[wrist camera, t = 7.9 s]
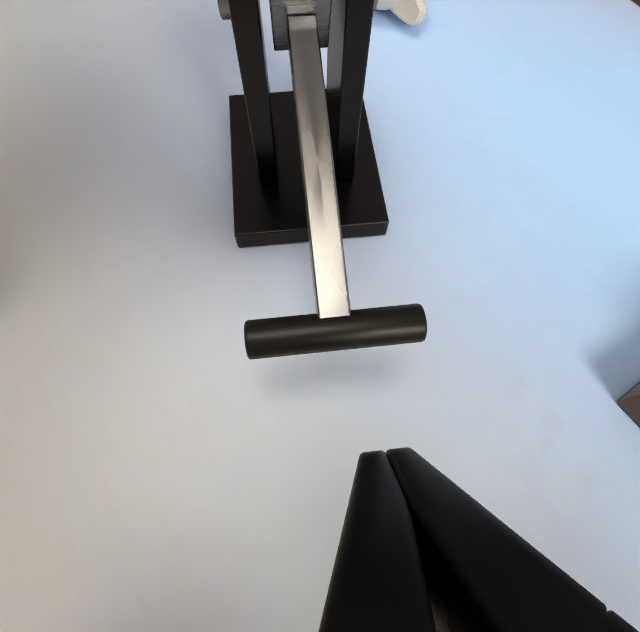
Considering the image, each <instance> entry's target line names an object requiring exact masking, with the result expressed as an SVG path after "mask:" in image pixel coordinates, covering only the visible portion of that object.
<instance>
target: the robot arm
mask: <svg viewBox="0 0 640 632" xmlns="http://www.w3.org/2000/svg"><path fill="white" fill-rule="evenodd" d="M319 632H639V631H637V630H636V629H635V628H634V627H632V626H631V625H630V624H629V623H627V622H626V621H625V620H624V619H622V618H621V617H620V616H619V615H617V614H616V613H615V612H614V611H612V610H609V611H607V609H606V606H605V604H603V603H602V602H601V601H600V600H599V599H597V598H596V597H595V596H594V595H592V594H591V593H590V592H589V591H587V590H586V589H585V588H584V587H582V586H581V585H580V584H579V583H577V582H576V581H575V580H574V579H572V578H571V577H570V576H569V575H568V574H566V573H565V572H564V571H563V570H561V569H560V568H559V567H558V566H556V565H555V564H554V563H553V562H551V561H550V560H549V559H548V558H546V557H545V556H544V555H543V554H541V553H540V552H539V551H538V550H537V549H535V548H534V547H533V546H532V545H530V544H529V543H528V542H527V541H525V540H524V539H523V538H522V537H520V536H519V535H518V534H517V533H515V532H514V531H513V530H512V529H510V528H509V527H508V526H507V525H506V524H504V523H503V522H502V521H501V520H499V519H498V518H497V517H496V516H494V515H493V514H492V513H491V512H489V511H488V510H487V509H486V508H484V507H483V506H482V505H481V504H479V503H478V502H477V501H476V500H475V499H473V498H472V497H471V496H470V495H468V494H467V493H466V492H465V491H463V490H462V489H461V488H460V487H458V486H457V485H456V484H455V483H453V482H452V481H451V480H450V479H448V478H447V477H446V476H445V475H444V474H442V473H441V472H440V471H439V470H437V469H436V468H435V467H434V466H432V465H431V464H430V463H429V462H427V461H426V460H425V459H424V458H422V457H421V456H420V455H419V454H417V453H416V452H415V451H414V450H412V449H411V448H407V447H405V448H397V449H389V450H387V451H386V453H385V452H384V451H381V450H380V451H371V452H363V453H361V454H360V456H359V460H358V464H357V469H356V473H355V477H354V482H353V486H352V490H351V495H350V499H349V503H348V508H347V512H346V516H345V520H344V525H343V529H342V533H341V538H340V542H339V546H338V551H337V555H336V559H335V564H334V568H333V572H332V576H331V581H330V585H329V589H328V594H327V598H326V602H325V607H324V611H323V615H322V620H321V624H320V628H319Z"/></svg>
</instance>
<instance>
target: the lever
mask: <svg viewBox="0 0 640 632" xmlns="http://www.w3.org/2000/svg"><path fill="white" fill-rule="evenodd" d="M269 3H270V13H271V23H272V33H273V43H274V50H275V51H278V50H289V57H290V66H291V76H292V85H293V95H294V104H295V114H296V123H297V133H298V142H299V152H300V161H301V171H302V180H303V190H304V199H305V209H306V218H307V228H308V237H309V247H310V256H311V266H312V275H313V285H314V294H315V304H316V313H317V314H307V315H297V316H287V317H277V318H267V319H256V320H247V321H246V322H245V325H244V338H245V347H246V353H247V356H248V358H249V359H260V358H270V357H280V356H289V355H299V354H309V353H318V352H328V351H338V350H347V349H357V348H367V347H376V346H386V345H395V344H405V343H415V342H422V341H424V340H425V338H426V333H427V322H426V316H425V312H424V310H423V307H422V306H421V305H420V304H408V305H398V306H388V307H378V308H368V309H358V310H350V302H349V293H348V284H347V276H346V267H345V258H344V250H343V241H342V233H341V224H340V215H339V207H338V198H337V189H336V181H335V172H334V164H333V155H332V146H331V138H330V129H329V120H328V112H327V103H326V95H325V86H324V77H323V69H322V60H321V51H320V48H324V47H328V46H329V33H330V20H331V7H332V0H269Z"/></svg>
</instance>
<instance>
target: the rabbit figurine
mask: <svg viewBox="0 0 640 632" xmlns="http://www.w3.org/2000/svg"><path fill="white" fill-rule="evenodd" d="M376 9H377V10H389V9H391V11H392V12H393V13H394V14H395V15H396V16H397V17H398V18H400V19H401V20H402V21H404V22H405V23H407V24H409V25H411V26H416V25H419V24H421V23H422V22H423V21H424V19H425V17H426V15H427V6H426V3H425V1H424V0H378V4H377V7H376Z"/></svg>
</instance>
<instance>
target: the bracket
mask: <svg viewBox="0 0 640 632" xmlns="http://www.w3.org/2000/svg"><path fill="white" fill-rule="evenodd" d="M217 1H218V7H219V12H220V16H221V18H222V19H223V20H227V19H231V21H232V27H233V33H234V38H235V44H236V50H237V56H238V61H239V67H240V73H241V78H242V84H243V90H244V95H231V96H229V108H230V133H231V158H232V182H233V207H234V231H235V238H236V241H237V244H238V247H251V246H262V245H273V244H284V243H296V242H307V241H309V237H308V228H307V218H306V209H305V199H304V190H303V180H302V171H301V161H300V152H299V142H298V133H297V123H296V114H295V104H294V95H293V91H288V92H274V93H270V89H269V80H268V71H267V62H266V53H265V44H264V35H263V26H262V17H261V8H260V0H217ZM377 4H378V0H332V7H331V20H330V33H329V46H328V53H327V89H325V95H326V103H327V112H328V120H329V129H330V138H331V146H332V155H333V164H334V172H335V181H336V189H337V198H338V207H339V215H340V224H341V233H342V238H351V237H363V236H374V235H384V234H386V230H387V227H388V223H389V220H388V215H387V210H386V206H385V201H384V196H383V191H382V187H381V182H380V177H379V172H378V167H377V163H376V158H375V153H374V148H373V144H372V139H371V134H370V129H369V124H368V120H367V115H366V110H365V105H364V101H363V92H364V84H365V75H366V67H367V59H368V50H369V42H370V34H371V25H372V17H373V11H374V10H375V9H376V7H377Z"/></svg>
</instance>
